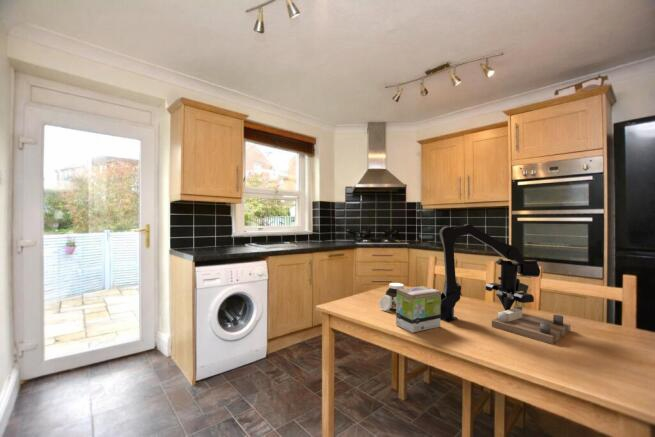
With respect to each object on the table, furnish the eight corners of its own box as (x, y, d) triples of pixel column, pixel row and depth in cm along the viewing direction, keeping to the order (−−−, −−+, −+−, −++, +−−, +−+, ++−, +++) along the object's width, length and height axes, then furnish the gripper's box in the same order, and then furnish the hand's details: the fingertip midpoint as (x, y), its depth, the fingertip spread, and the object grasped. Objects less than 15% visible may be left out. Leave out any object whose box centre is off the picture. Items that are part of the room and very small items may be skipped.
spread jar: (409, 308, 140) (409, 284, 139) (401, 315, 130) (401, 289, 130) (385, 304, 146) (385, 281, 146) (376, 310, 136) (376, 285, 136)
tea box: (413, 334, 109) (413, 294, 109) (395, 325, 118) (395, 289, 118) (441, 327, 116) (441, 290, 116) (422, 319, 125) (422, 284, 125)
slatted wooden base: (552, 344, 100) (552, 328, 100) (491, 326, 116) (491, 312, 116) (570, 330, 112) (570, 316, 112) (513, 316, 128) (513, 303, 128)
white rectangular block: (505, 322, 113) (505, 315, 113) (495, 320, 116) (496, 312, 116) (523, 317, 119) (523, 310, 119) (513, 315, 122) (513, 308, 122)
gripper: (545, 280, 113) (544, 319, 114) (505, 269, 131) (504, 303, 132) (522, 281, 111) (521, 321, 111) (485, 270, 129) (484, 305, 129)
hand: (507, 312), depth 121 cm, fingers closed
